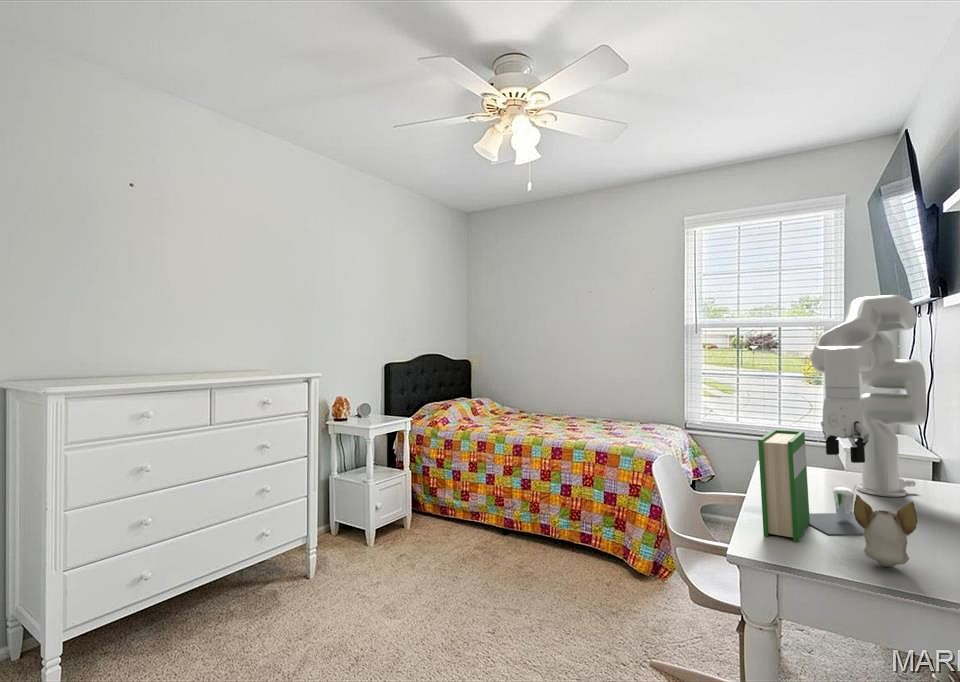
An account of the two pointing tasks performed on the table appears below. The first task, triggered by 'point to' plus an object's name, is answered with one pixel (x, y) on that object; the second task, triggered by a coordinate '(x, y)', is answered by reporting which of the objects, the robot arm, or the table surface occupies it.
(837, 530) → the mouse pad
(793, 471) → the hardback book
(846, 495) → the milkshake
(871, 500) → the table surface
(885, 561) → the ceramic sculpture
